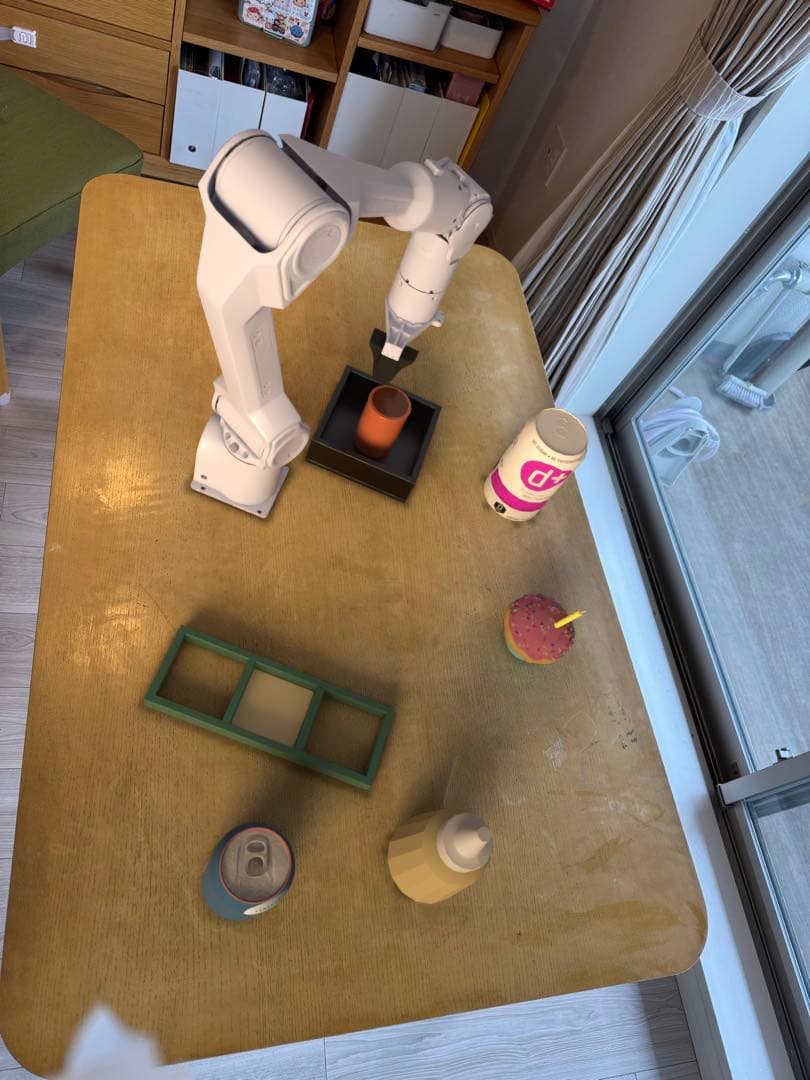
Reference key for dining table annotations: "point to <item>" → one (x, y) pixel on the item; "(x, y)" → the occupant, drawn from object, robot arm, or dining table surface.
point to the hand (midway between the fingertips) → (389, 358)
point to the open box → (344, 459)
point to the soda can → (248, 872)
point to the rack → (272, 707)
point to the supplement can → (536, 464)
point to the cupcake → (539, 629)
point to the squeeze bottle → (439, 853)
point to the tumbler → (381, 421)
